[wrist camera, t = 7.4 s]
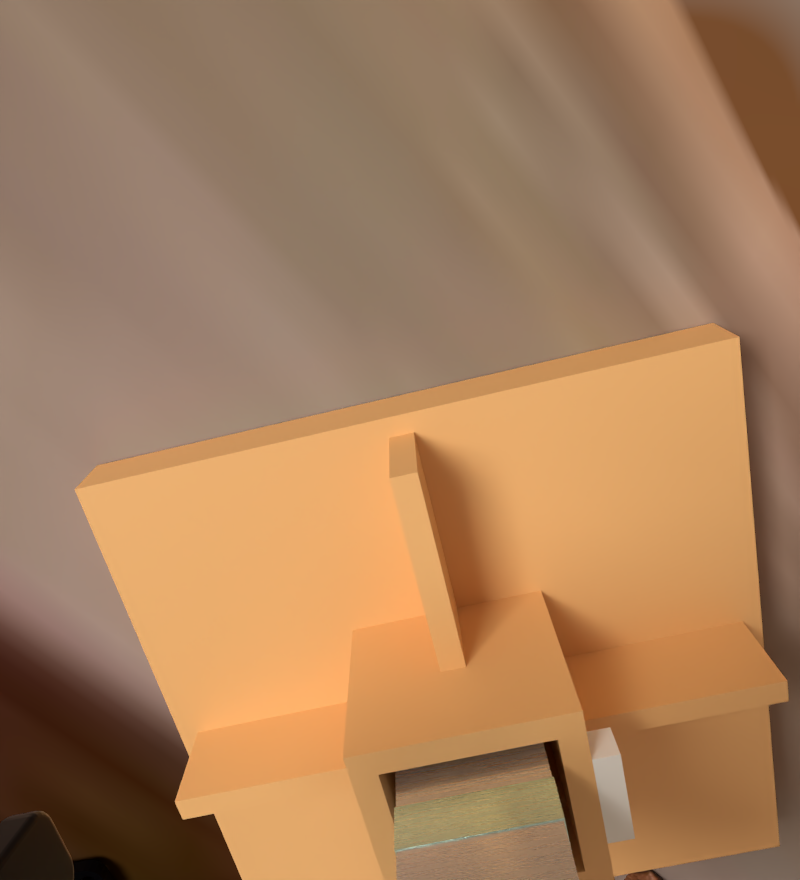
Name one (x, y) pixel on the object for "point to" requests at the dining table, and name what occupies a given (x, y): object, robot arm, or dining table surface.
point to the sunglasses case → (643, 876)
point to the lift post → (482, 820)
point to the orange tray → (464, 608)
